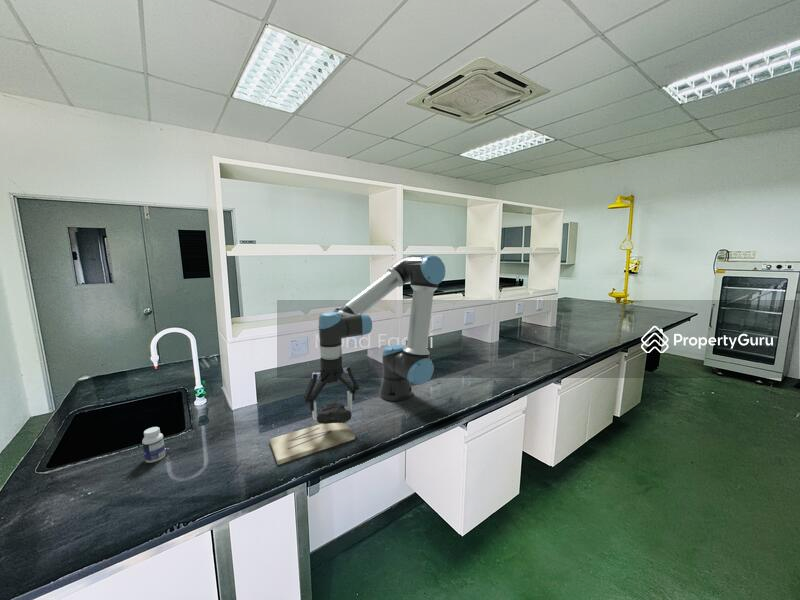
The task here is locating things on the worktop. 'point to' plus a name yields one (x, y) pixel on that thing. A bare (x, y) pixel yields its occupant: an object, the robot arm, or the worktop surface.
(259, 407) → the worktop surface
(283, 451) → the board
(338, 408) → the rock
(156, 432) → the pill bottle
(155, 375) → the worktop surface
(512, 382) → the worktop surface
